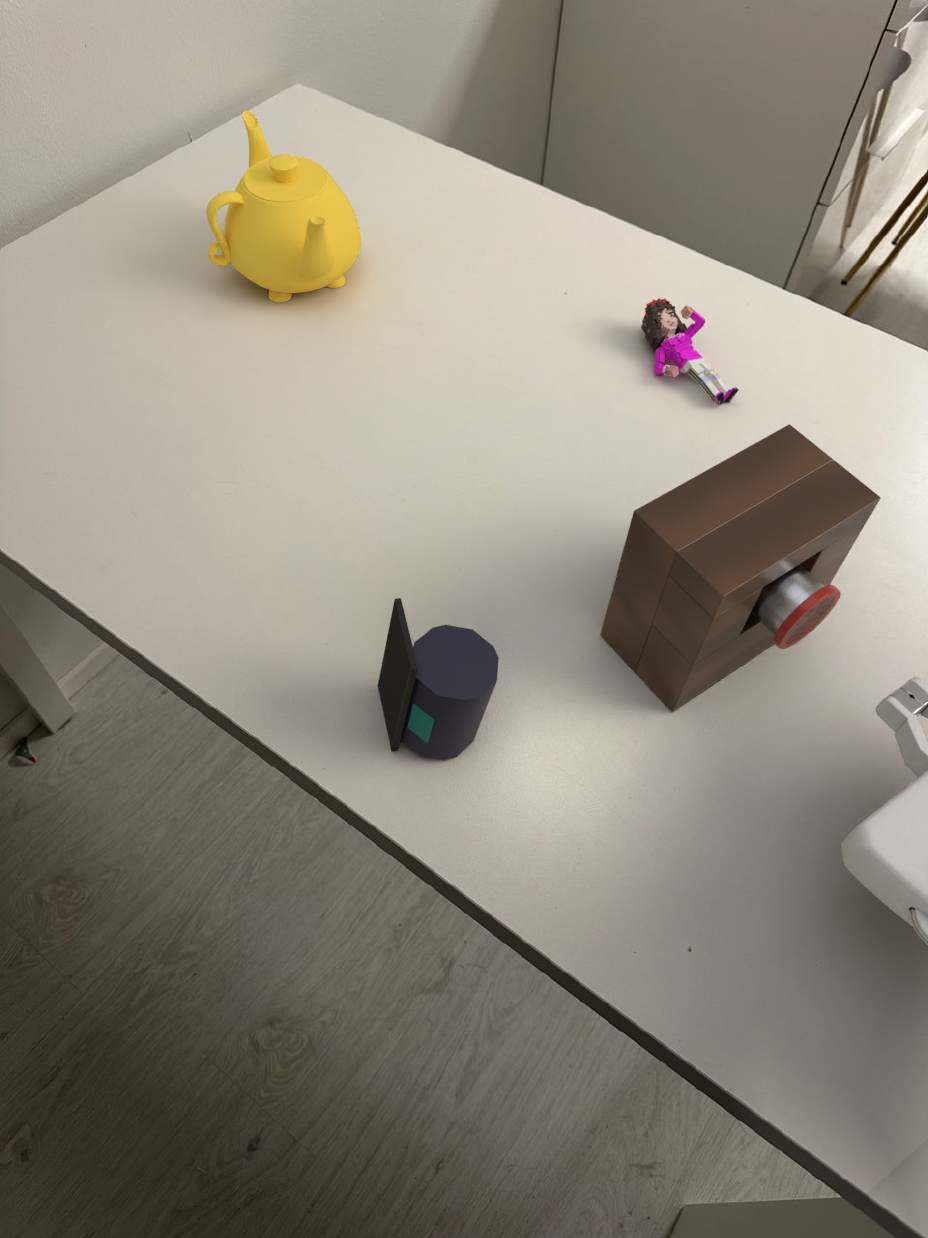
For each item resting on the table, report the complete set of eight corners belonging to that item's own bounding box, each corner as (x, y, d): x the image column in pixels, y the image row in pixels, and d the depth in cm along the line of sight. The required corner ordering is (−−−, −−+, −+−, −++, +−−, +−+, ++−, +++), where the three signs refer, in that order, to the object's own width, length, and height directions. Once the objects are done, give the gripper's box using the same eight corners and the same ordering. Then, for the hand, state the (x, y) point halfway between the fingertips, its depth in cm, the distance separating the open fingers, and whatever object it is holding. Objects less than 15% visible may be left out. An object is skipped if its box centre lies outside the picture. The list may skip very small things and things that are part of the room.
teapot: (186, 236, 97) (160, 124, 87) (322, 204, 101) (311, 93, 91) (249, 354, 87) (227, 242, 77) (397, 313, 91) (394, 202, 81)
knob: (823, 624, 64) (852, 578, 59) (769, 661, 62) (795, 616, 57) (780, 585, 65) (805, 537, 61) (726, 619, 64) (748, 573, 59)
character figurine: (741, 402, 87) (663, 316, 91) (761, 362, 82) (677, 274, 86) (693, 425, 85) (615, 337, 89) (710, 386, 80) (628, 295, 85)
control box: (808, 621, 72) (881, 497, 60) (672, 713, 67) (723, 596, 55) (734, 553, 75) (789, 423, 64) (599, 634, 70) (633, 510, 59)
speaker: (362, 755, 64) (372, 670, 55) (377, 684, 67) (388, 595, 59) (473, 774, 64) (498, 693, 56) (482, 703, 68) (507, 617, 59)
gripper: (943, 1003, 50) (758, 803, 57) (1159, 802, 57) (973, 643, 64) (1001, 972, 45) (791, 756, 51) (1231, 755, 52) (1022, 588, 58)
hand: (894, 692), depth 58 cm, fingers closed
